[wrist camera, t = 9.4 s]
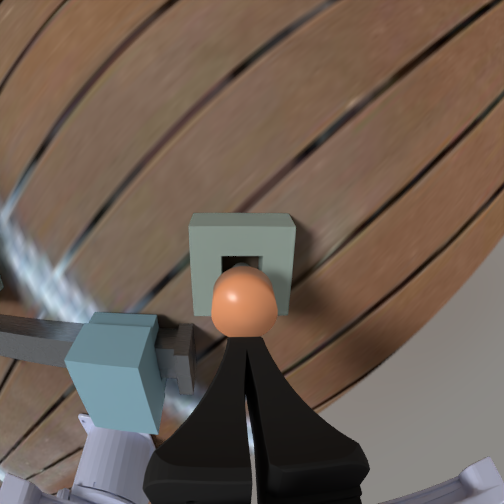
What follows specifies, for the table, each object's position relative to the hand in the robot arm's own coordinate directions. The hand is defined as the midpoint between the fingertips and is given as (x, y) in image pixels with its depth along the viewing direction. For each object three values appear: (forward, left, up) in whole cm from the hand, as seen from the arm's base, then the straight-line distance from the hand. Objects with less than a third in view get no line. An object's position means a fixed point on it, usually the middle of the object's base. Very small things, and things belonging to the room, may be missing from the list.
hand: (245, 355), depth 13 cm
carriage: (-7, +8, -10) cm, 15 cm away
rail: (-7, +14, -10) cm, 19 cm away
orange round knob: (0, 0, -8) cm, 8 cm away
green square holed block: (0, 0, -10) cm, 10 cm away
